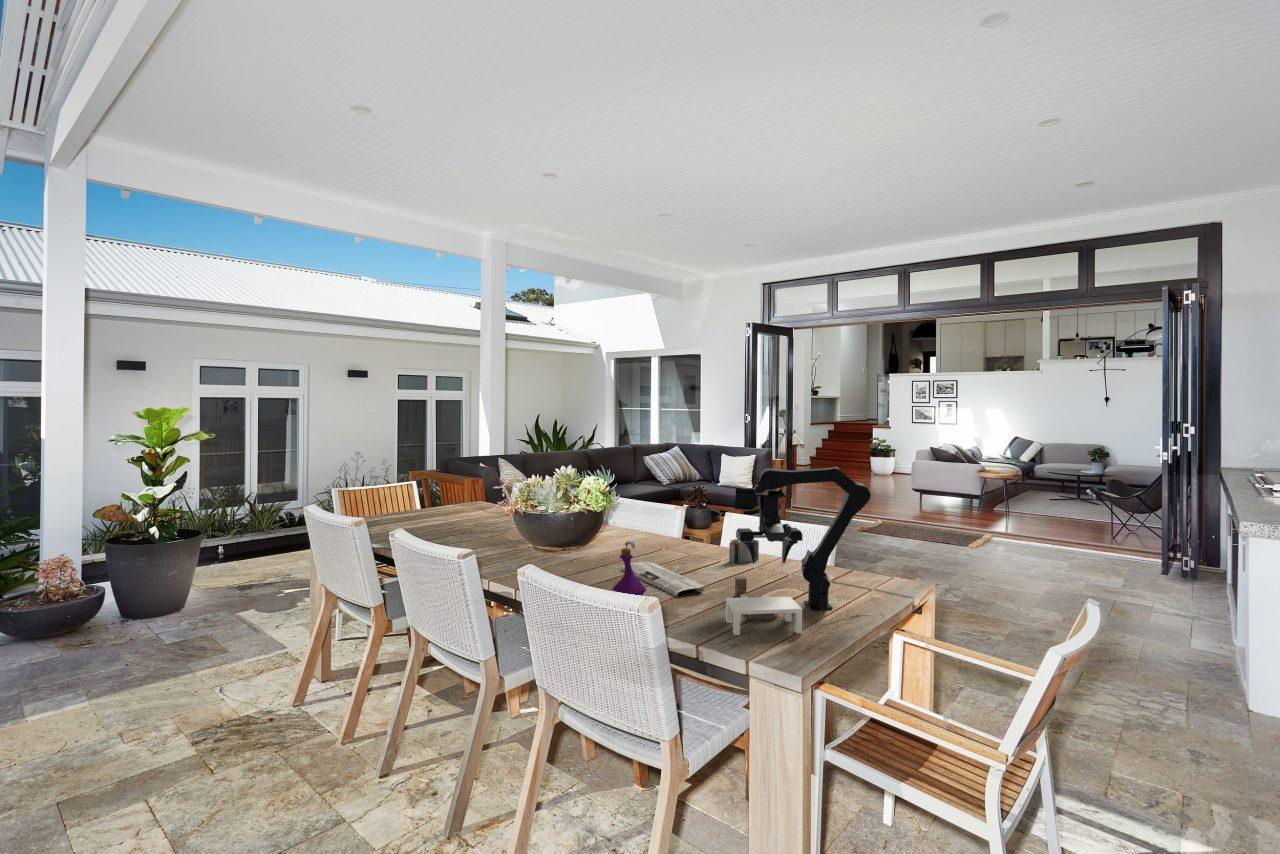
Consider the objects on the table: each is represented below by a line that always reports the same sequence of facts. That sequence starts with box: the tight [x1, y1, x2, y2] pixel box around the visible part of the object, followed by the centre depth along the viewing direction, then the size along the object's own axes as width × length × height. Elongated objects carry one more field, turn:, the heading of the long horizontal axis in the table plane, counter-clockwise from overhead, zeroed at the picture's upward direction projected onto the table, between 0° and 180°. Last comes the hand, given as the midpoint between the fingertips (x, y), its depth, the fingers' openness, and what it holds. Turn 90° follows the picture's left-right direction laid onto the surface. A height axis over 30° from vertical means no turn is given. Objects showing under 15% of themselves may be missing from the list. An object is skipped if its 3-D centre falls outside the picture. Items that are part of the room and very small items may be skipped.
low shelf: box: [725, 596, 803, 636], centre depth 173 cm, size 10×18×6 cm, turn 95°
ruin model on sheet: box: [728, 538, 760, 565], centre depth 239 cm, size 11×3×10 cm, turn 117°
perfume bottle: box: [611, 540, 647, 596], centre depth 195 cm, size 8×8×18 cm
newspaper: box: [620, 561, 709, 597], centre depth 215 cm, size 35×12×4 cm, turn 32°
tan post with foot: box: [734, 575, 775, 620], centre depth 189 cm, size 20×7×6 cm, turn 2°
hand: (768, 563), depth 192 cm, fingers open, 9 cm apart
